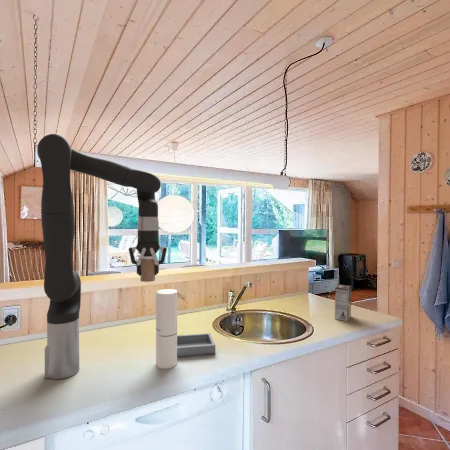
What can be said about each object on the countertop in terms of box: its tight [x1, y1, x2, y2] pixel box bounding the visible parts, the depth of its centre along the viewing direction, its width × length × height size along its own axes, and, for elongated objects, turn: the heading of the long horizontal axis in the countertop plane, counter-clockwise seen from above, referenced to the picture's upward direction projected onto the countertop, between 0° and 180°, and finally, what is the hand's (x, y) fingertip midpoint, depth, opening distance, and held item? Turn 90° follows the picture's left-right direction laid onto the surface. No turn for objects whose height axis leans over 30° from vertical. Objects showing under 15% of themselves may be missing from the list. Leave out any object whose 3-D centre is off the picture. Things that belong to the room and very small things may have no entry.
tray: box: [177, 332, 216, 359], centre depth 119 cm, size 15×12×4 cm
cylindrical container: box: [155, 288, 178, 369], centre depth 107 cm, size 7×7×25 cm
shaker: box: [140, 256, 156, 283], centre depth 115 cm, size 5×5×9 cm
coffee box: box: [334, 284, 352, 322], centre depth 159 cm, size 9×6×16 cm
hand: (147, 274), depth 115 cm, fingers closed on shaker, 5 cm apart
